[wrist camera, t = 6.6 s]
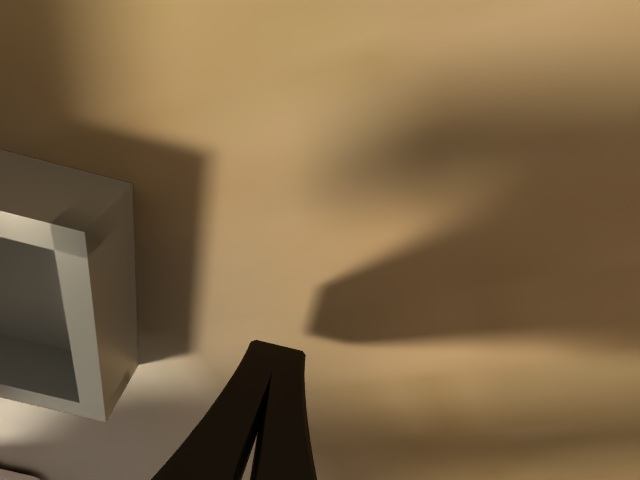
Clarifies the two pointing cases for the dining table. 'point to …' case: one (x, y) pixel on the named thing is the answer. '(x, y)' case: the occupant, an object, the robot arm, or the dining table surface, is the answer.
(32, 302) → the tray
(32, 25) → the dining table surface
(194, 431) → the robot arm
